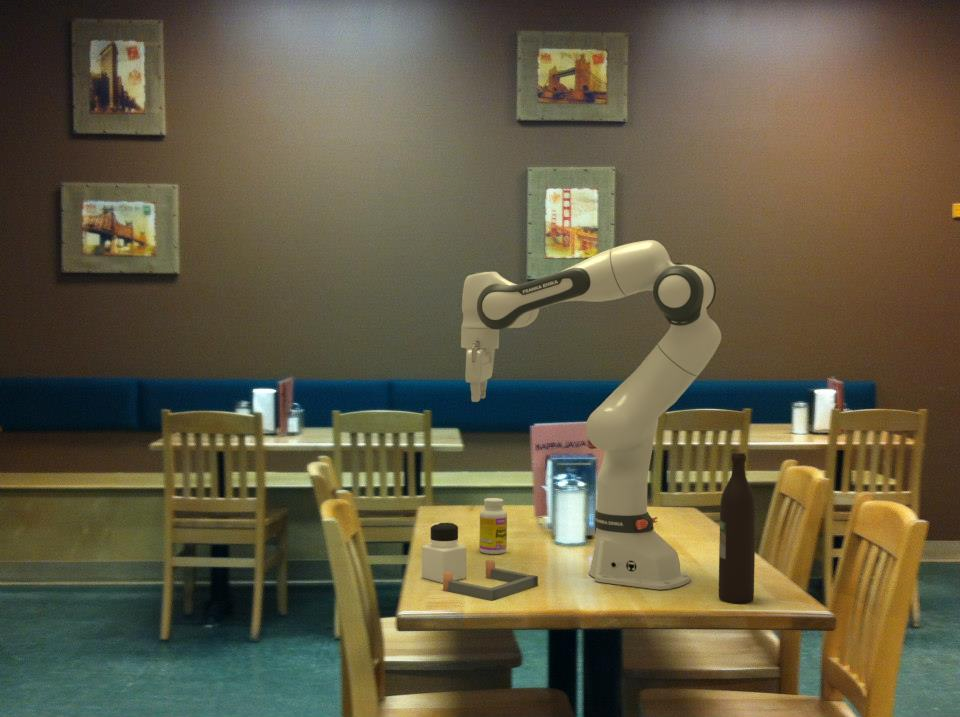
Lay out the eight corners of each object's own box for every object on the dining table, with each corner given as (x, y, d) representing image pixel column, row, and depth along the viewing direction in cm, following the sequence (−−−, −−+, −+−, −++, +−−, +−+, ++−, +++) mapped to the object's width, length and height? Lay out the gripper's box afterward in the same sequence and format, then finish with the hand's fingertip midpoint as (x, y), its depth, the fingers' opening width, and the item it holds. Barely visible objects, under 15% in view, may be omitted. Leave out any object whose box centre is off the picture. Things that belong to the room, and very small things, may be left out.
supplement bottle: (495, 556, 259) (496, 502, 259) (473, 552, 263) (474, 499, 263) (512, 551, 264) (512, 499, 264) (490, 547, 268) (490, 496, 268)
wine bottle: (733, 593, 226) (736, 450, 225) (761, 600, 220) (764, 454, 219) (711, 598, 222) (713, 452, 221) (738, 605, 216) (741, 456, 215)
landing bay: (538, 585, 231) (538, 569, 231) (491, 600, 218) (491, 583, 218) (489, 575, 239) (489, 559, 239) (441, 590, 226) (441, 573, 226)
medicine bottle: (466, 578, 237) (467, 524, 236) (442, 583, 232) (443, 528, 231) (444, 572, 242) (445, 519, 241) (420, 577, 237) (421, 523, 236)
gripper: (487, 342, 242) (485, 404, 242) (498, 340, 262) (497, 397, 262) (459, 341, 242) (458, 403, 243) (472, 339, 263) (471, 396, 263)
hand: (478, 399), depth 253 cm, fingers open, 8 cm apart
